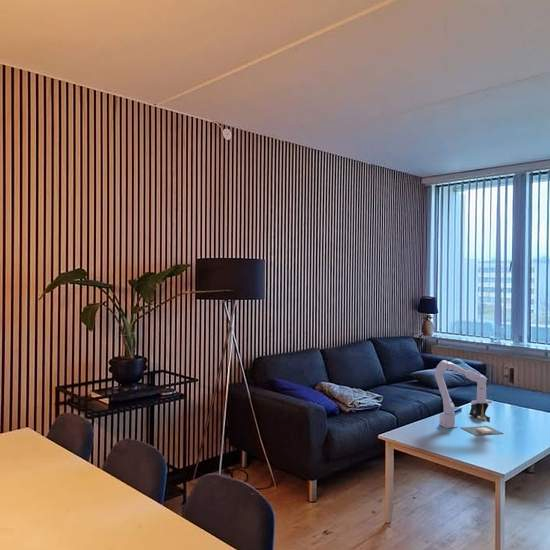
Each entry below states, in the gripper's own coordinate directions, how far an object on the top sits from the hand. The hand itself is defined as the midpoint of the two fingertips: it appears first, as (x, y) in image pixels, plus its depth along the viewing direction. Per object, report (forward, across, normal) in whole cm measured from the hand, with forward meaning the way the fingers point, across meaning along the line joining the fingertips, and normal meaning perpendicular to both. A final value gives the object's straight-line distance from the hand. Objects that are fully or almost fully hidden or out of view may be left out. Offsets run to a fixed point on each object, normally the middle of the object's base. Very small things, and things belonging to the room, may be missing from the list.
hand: (481, 414), depth 320 cm
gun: (+11, +16, +25) cm, 32 cm away
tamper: (+3, 0, 0) cm, 3 cm away
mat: (+10, -1, -1) cm, 10 cm away
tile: (+9, -1, 0) cm, 9 cm away
